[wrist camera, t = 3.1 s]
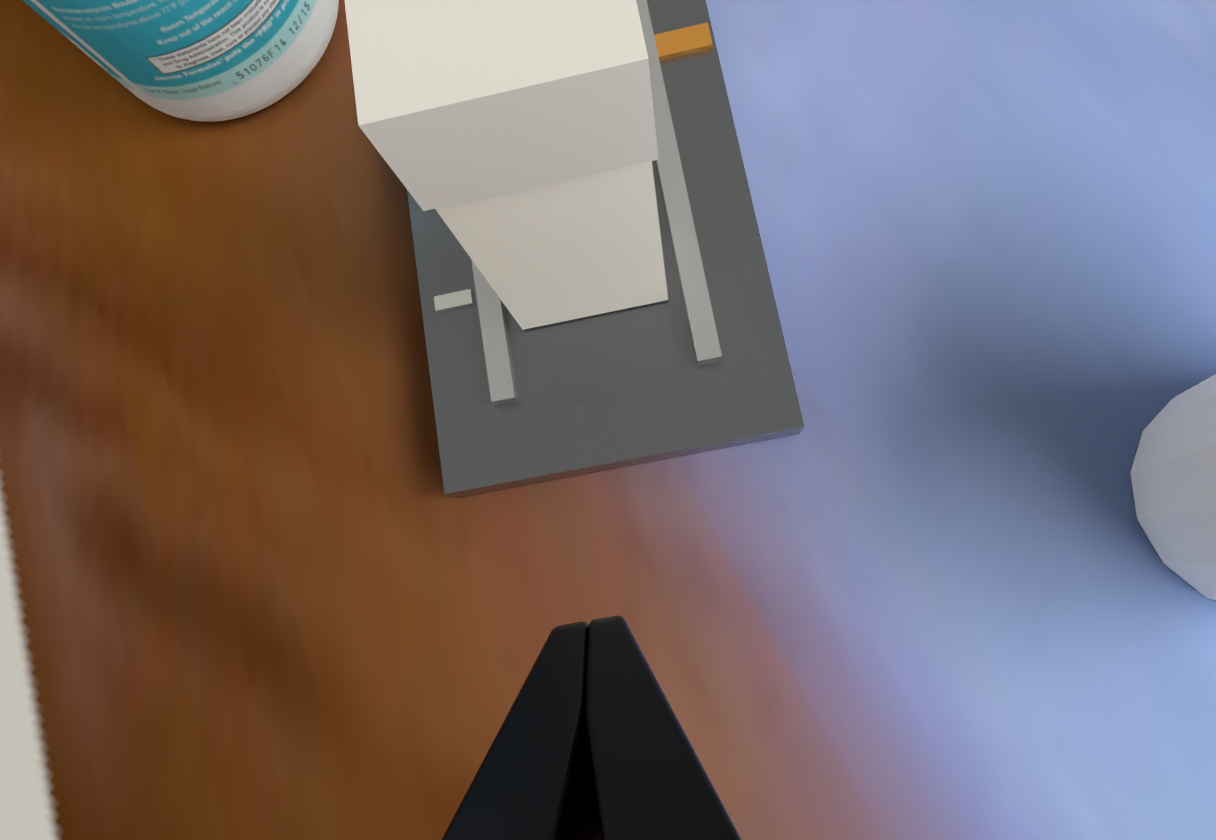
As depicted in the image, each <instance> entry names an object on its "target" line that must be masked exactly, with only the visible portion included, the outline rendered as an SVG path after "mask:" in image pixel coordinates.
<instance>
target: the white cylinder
mask: <svg viewBox="0 0 1216 840" xmlns="http://www.w3.org/2000/svg"><path fill="white" fill-rule="evenodd" d="M1130 475H1131V481H1132V488H1133V495H1134V502H1135V508H1136V515H1137V520H1138V521H1139V523H1140V525H1141V527H1142V528H1143V530H1144V532H1145V533H1146V535H1147V537H1148V538H1149V540H1150V542H1151V543H1152V545H1153V547H1154V548H1155V550H1156V552H1157V553H1158V555H1159V557H1160V559H1161V560H1162V562H1163V563H1164V564H1165V565H1166V566H1168V567H1169V568H1170V569H1171V570H1173V571H1174V572H1175V573H1176V574H1178V575H1179V576H1180V577H1181V578H1182V579H1184V580H1185V581H1186V582H1187V583H1189V584H1190V585H1191V586H1192V587H1193V588H1195V589H1196V590H1197V591H1198V592H1200V593H1201V594H1202V595H1203V596H1204V597H1207V598H1210V599H1213V600H1215V601H1216V374H1215V375H1213V376H1211V377H1209V378H1208V379H1206V380H1204V381H1202V382H1200V383H1199V384H1197V385H1195V386H1193V387H1192V388H1190V389H1188V390H1186V391H1184V392H1183V393H1181V394H1179V395H1177V396H1175V397H1174V398H1172V399H1171V400H1170V401H1169V402H1168V404H1167V405H1166V406H1165V407H1164V408H1163V409H1162V410H1161V411H1160V412H1159V413H1158V415H1157V416H1156V417H1155V418H1154V419H1153V420H1152V421H1151V422H1150V423H1149V424H1148V426H1147V427H1146V428H1145V429H1144V430H1143V432H1142V435H1141V438H1140V442H1139V445H1138V448H1137V452H1136V455H1135V459H1134V462H1133V465H1132V469H1131V472H1130Z"/></svg>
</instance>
